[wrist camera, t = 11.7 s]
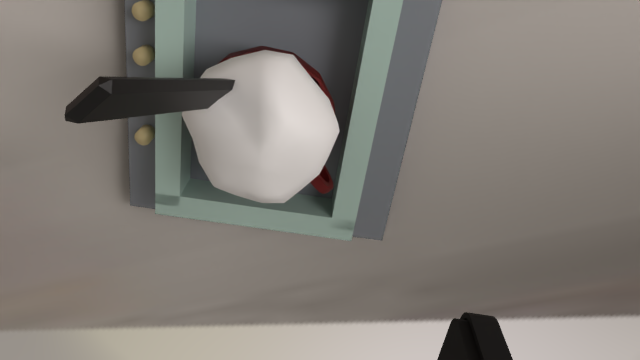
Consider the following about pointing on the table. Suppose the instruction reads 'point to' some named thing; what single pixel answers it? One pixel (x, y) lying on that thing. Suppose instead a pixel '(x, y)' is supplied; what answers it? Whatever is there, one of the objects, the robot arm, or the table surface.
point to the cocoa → (236, 119)
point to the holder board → (339, 77)
